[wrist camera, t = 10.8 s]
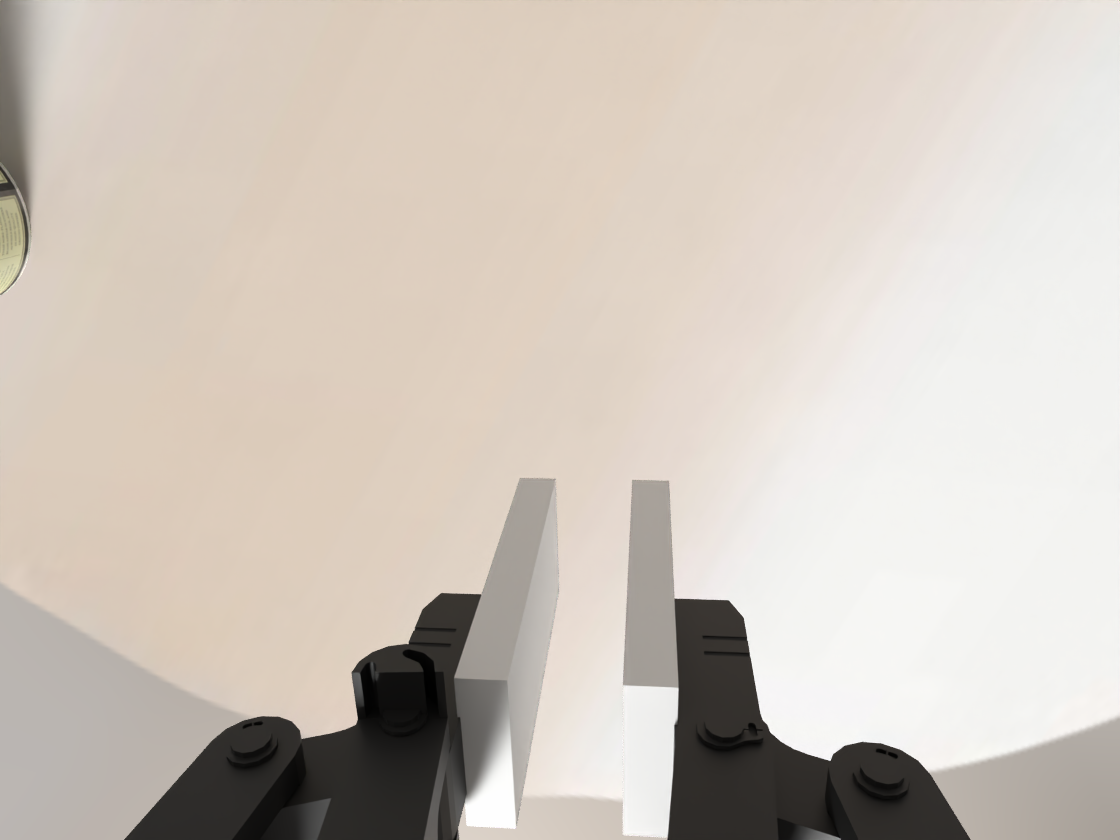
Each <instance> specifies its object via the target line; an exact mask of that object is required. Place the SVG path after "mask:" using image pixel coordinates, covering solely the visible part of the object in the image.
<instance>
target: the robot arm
mask: <svg viewBox="0 0 1120 840" xmlns="http://www.w3.org/2000/svg"><path fill="white" fill-rule="evenodd" d="M558 594H559V568H558V536H557V504H556V479H538V478H520V480H519V483H518V486H517V489H516V492H515V495H514V498H513V501H512V504H511V507H510V510H509V513H508V516H507V519H506V522H505V525H504V528H503V531H502V534H501V537H500V540H499V543H498V546H497V549H496V552H495V556H494V559H493V562H492V565H491V568H490V571H489V574H488V577H487V580H486V583H485V586H484V589H483V592H482V595H481V594H450V593H441V594H440V595H438V596H437V597H436V598H435V599H434V600H433V601H432V602H430V603H429V604H428V605H427V606H426V607H425V608H424V609H423V610H422V613H421V615H420V617H419V619H418V622H417V624H416V626H415V631H413V633H412V636H411V638H410V640H409V644H403V645H395V646H388V647H385V648H383V649H380V650H377V651H375V652H372V653H371V654H369V655H368V656H366V657H365V658H364V659H362V660H361V661H359V663H358V664H357V665H356V667H355V668H354V670H353V671H352V680H353V687H354V694H355V701H356V708H357V715H358V721H357V724H356V725H355V726H353V727H350V728H348V729H346V730H342V731H339V732H335V733H331V734H326V735H321V736H315V737H310V738H305V739H301V734H300V730H299V729H298V728H297V727H296V726H295V725H294V723H293V722H291V721H289V720H286V719H283V718H281V717H266V716H261V717H257V718H253V719H248V720H244V721H242V722H240V723H238V724H236V725H233V726H231V727H229V728H227V729H226V730H224V731H223V732H222V733H221V734H220V735H218V736H217V737H216V738H215V739H214V740H212V741H211V743H210V744H209V745H208V746H207V747H206V749H204V751H203V752H202V753H201V754H200V755H199V756H198V757H197V758H196V760H195V761H194V762H193V763H192V764H191V765H190V766H189V768H187V770H186V771H185V772H184V773H183V774H182V775H181V776H180V777H179V779H178V780H177V781H176V782H175V783H174V784H173V785H172V787H171V788H170V789H169V790H168V791H167V792H166V793H165V795H164V796H163V797H162V798H161V799H160V800H159V801H158V802H157V803H156V805H155V806H154V807H153V808H152V809H151V810H150V811H149V812H148V814H147V815H146V816H145V817H144V818H143V819H142V820H141V822H140V823H139V824H138V825H137V826H136V827H135V828H134V829H133V830H132V832H131V833H130V834H129V835H128V836H127V837H126V838H125V839H124V840H459V834H458V826H459V822H460V818H461V814H462V810H463V807H464V803H465V810H466V822H467V826H480V827H497V828H513V829H516V826H517V821H518V816H519V810H520V805H521V799H522V794H523V788H524V783H525V777H526V772H527V766H528V760H529V755H530V749H531V744H532V738H533V733H534V727H535V722H536V716H537V711H538V705H539V699H540V694H541V688H542V683H543V677H544V672H545V666H546V661H547V655H548V649H549V644H550V638H551V633H552V627H553V622H554V616H555V611H556V605H557V600H558ZM623 835H631V836H647V837H664V838H668V840H970V838H969V836H968V835H967V833H966V832H965V830H964V828H963V827H962V825H961V823H960V822H959V820H958V819H957V817H956V815H955V814H954V812H953V811H952V809H951V807H950V806H949V804H948V802H947V801H946V799H945V798H944V796H943V794H942V793H941V791H940V789H939V788H938V786H937V785H936V783H935V781H934V780H933V778H932V776H931V775H930V774H929V773H928V771H927V770H926V769H925V768H924V767H923V766H922V765H921V764H920V762H919V761H917V760H916V759H914V758H913V757H911V756H909V755H908V754H906V753H905V752H903V751H901V750H899V749H896V748H893V747H890V746H887V745H884V744H881V743H867V742H860V743H855V744H851V745H846V746H844V747H843V748H841V749H840V750H839V751H837V752H836V753H834V754H833V756H832V759H831V761H828V760H825V759H821V758H818V757H814V756H811V755H808V754H805V753H802V752H800V751H797V750H794V749H792V748H791V747H789V746H787V745H785V744H784V743H782V742H780V741H779V740H778V739H777V738H776V737H775V736H774V735H772V734H771V733H770V731H769V728H768V725H767V724H766V723H765V722H764V721H763V720H762V717H761V714H760V710H759V704H758V698H757V692H756V687H755V681H754V675H753V669H752V663H751V658H750V652H749V646H748V641H747V635H746V629H745V623H744V618H743V617H742V615H741V614H740V613H739V612H738V611H737V610H736V608H735V607H734V606H733V605H732V604H731V603H730V601H729V600H699V599H674V579H673V557H672V535H671V514H670V492H669V481H649V480H632V499H631V521H630V543H629V564H628V586H627V608H626V630H625V651H624V673H623Z"/></svg>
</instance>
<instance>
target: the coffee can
mask: <svg viewBox="0 0 1120 840" xmlns="http://www.w3.org/2000/svg"><path fill="white" fill-rule="evenodd" d="M30 247H31V229H30V221H29V215H28V212H27V209H26V205H25V203H24V200H23V198H22V195H21V193H20V191H19V189H18V186H17V185H16V183H15V181H14V180H13V178H12V177H11V175H10V173H9V172H8V170H7V169H6V168H5V167H4V165H3V164H2V163H1V162H0V296H1V295H3V294H5V293H6V292H7V291H8V290H9V289H11V288H12V287H13V286H14V284H15V283H16V282H17V281H18V279H19V278H20V277H21V275H22V273H23V271H24V269H25V267H26V264H27V261H28V258H29V254H30Z"/></svg>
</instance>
